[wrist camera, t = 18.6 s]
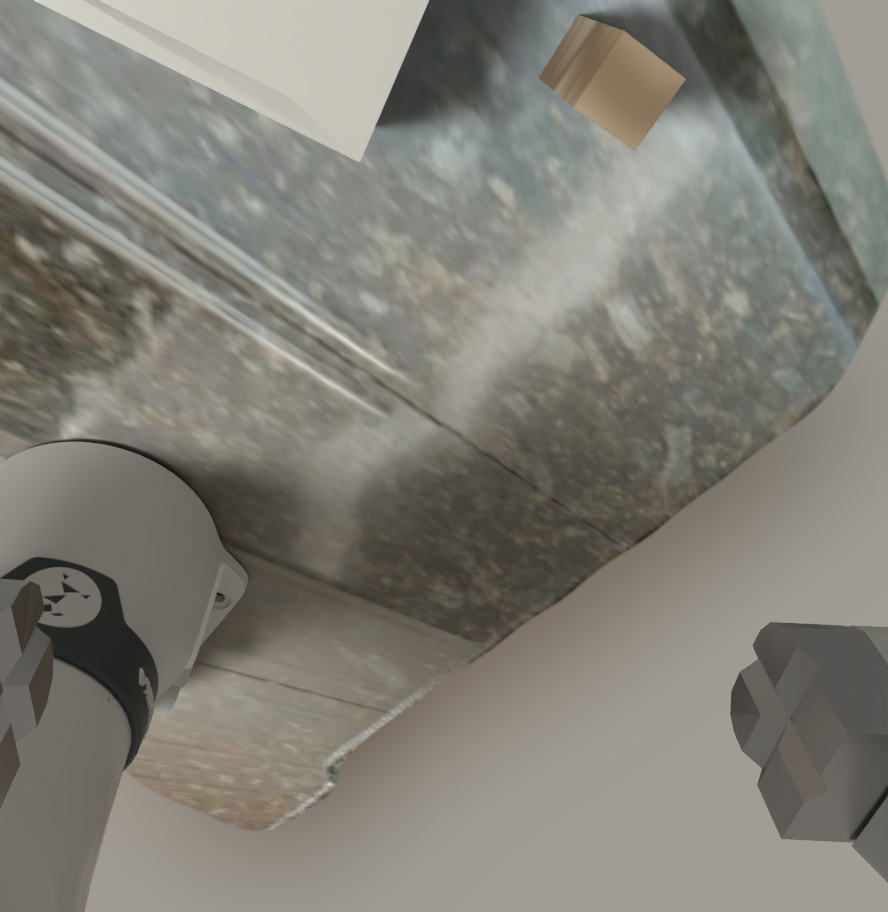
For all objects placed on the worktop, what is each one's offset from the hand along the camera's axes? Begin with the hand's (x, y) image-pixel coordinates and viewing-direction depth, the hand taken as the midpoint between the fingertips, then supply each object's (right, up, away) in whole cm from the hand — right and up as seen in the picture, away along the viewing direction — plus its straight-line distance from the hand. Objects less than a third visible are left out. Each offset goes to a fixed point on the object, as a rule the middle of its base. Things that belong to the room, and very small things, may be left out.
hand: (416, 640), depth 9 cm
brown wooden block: (+7, +20, +27) cm, 34 cm away
